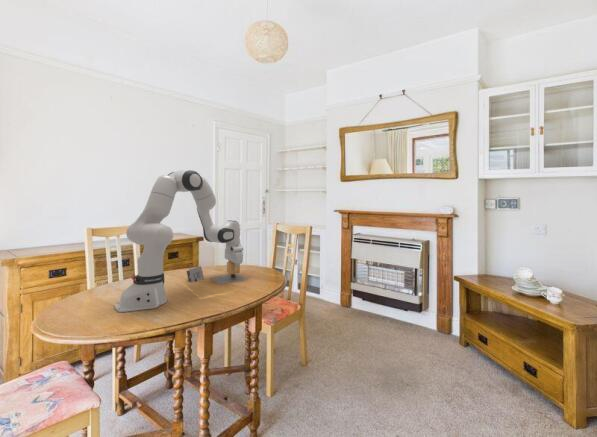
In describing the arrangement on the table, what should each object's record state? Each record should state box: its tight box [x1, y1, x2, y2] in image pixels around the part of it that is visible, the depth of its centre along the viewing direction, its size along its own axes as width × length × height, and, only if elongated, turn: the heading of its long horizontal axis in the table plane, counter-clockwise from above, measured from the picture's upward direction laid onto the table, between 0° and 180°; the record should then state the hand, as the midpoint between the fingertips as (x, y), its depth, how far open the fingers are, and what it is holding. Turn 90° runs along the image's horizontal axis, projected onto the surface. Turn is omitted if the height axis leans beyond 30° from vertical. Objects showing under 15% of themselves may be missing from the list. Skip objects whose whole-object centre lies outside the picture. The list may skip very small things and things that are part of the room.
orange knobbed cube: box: [226, 260, 241, 275], centre depth 196 cm, size 6×6×8 cm
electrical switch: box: [186, 265, 205, 283], centre depth 189 cm, size 9×5×9 cm, turn 152°
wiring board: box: [210, 273, 249, 285], centre depth 192 cm, size 18×16×6 cm
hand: (233, 268), depth 197 cm, fingers closed on orange knobbed cube, 6 cm apart
